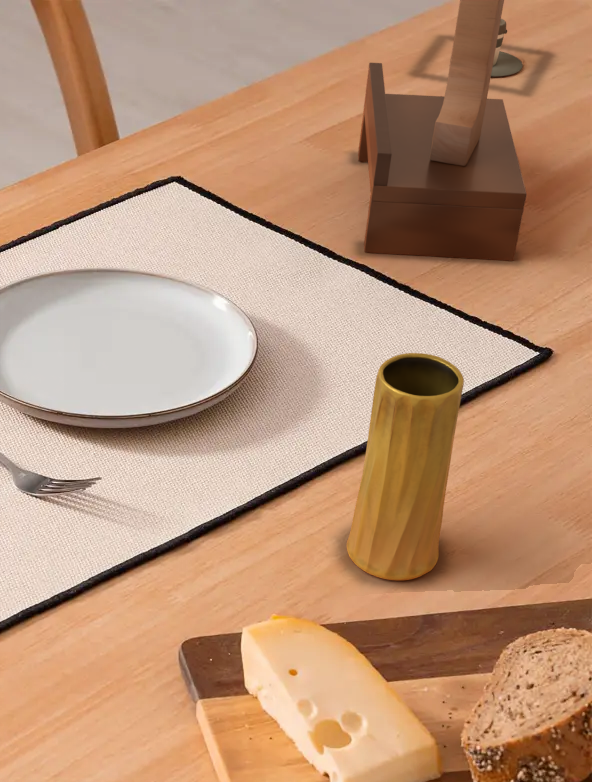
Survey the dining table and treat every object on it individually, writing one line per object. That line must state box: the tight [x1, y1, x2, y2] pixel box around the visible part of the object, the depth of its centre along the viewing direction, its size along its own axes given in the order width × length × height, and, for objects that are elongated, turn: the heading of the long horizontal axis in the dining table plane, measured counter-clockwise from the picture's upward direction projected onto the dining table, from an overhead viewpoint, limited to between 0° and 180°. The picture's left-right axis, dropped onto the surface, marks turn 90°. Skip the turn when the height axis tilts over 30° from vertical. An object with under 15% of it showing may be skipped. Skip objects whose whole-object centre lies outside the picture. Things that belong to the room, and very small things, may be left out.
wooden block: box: [430, 0, 505, 166], centre depth 135 cm, size 7×3×15 cm, turn 157°
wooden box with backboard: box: [357, 62, 527, 262], centre depth 142 cm, size 13×20×10 cm, turn 174°
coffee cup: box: [491, 18, 524, 78], centre depth 170 cm, size 12×12×5 cm
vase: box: [346, 352, 465, 581], centre depth 100 cm, size 6×6×14 cm
